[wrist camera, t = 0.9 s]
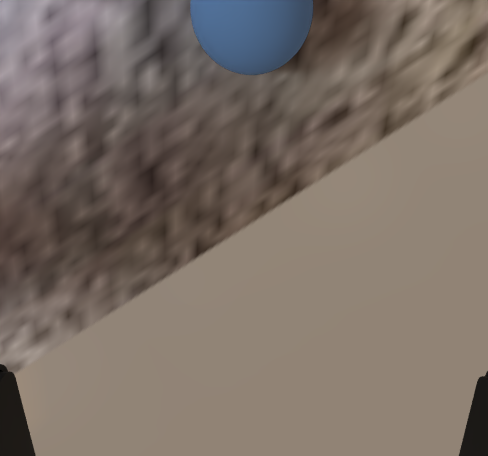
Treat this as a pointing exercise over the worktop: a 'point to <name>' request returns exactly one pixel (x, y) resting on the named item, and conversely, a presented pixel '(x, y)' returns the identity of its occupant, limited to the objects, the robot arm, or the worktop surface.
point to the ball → (251, 32)
